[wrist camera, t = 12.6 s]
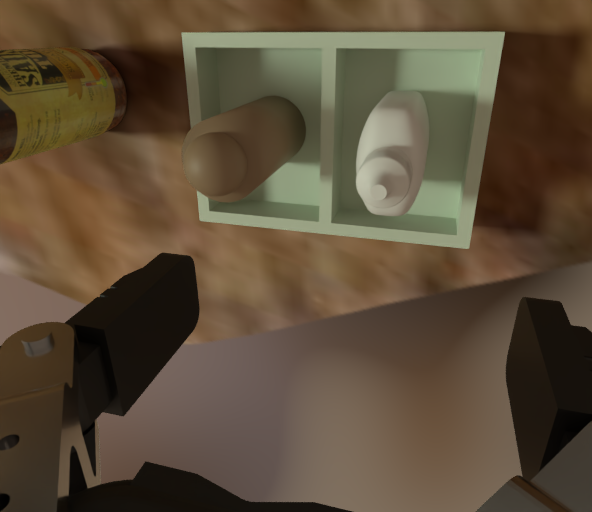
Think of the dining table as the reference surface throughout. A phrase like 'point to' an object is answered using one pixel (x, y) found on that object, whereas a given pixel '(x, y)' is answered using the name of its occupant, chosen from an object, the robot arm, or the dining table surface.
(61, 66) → the sauce bottle
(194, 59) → the caddy
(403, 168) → the eye dropper bottle
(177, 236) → the dining table surface
